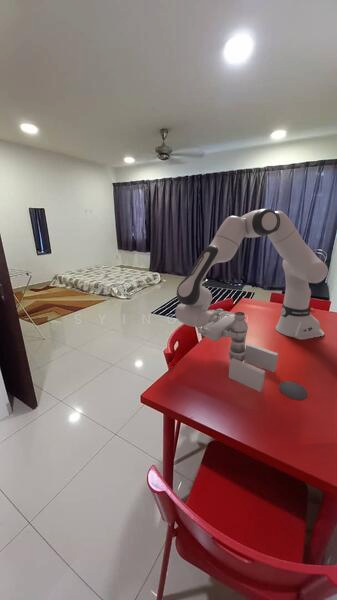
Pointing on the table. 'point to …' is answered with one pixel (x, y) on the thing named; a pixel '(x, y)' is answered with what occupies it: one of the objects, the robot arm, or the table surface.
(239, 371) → the guide channel
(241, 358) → the plastic bottle
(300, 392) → the mat
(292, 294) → the robot arm
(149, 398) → the table surface
